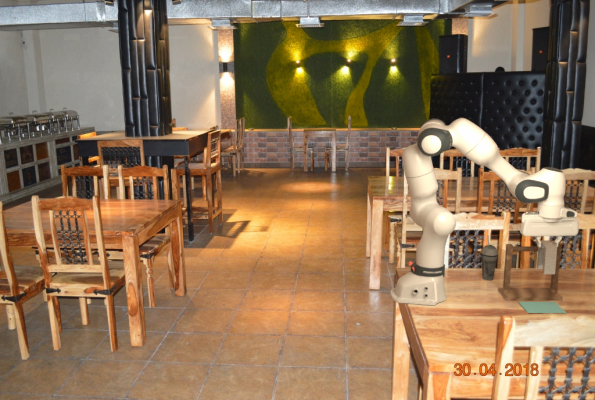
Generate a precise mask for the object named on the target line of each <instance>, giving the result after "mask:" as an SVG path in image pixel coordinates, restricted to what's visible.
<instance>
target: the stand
mask: <svg viewBox="0 0 595 400" xmlns="http://www.w3.org/2000/svg"><path fill="white" fill-rule="evenodd" d="M513 252H538V246H537V245H535V246H529V245H528V246H526V245H525V246H523V245H522V246H518V245H517V246H516V245H515V246H514V245H513V244H511V243H506V244H505V255H504V270H503V281H502V287H497V291H498V293H500V295H501V296H502V297H503V299H504V300H505V301H507V302H509V301H513V302H514V301H518V302H557V301H560V302H562V301H563V296H562V295H561V294H559V292H558V287H559V286H558V284H559V276H560V265H561V258H562V257H561V255H562V244H560V243H558V247H557V255H556V268H555V274H550V275H551V276H550V286H549V287H511V275H512V265H513V264H512V262H513Z"/></svg>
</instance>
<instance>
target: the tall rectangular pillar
mask: <svg viewBox="0 0 595 400" xmlns="http://www.w3.org/2000/svg"><path fill="white" fill-rule="evenodd" d="M540 242H542V243H543V247H538V251H537V260H536V268H537V270H541V271H542V275H551V274H555V268H556V255H557V246H556V245H555V244H554V243H552V242H553V241H551V240H540Z"/></svg>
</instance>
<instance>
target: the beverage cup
mask: <svg viewBox="0 0 595 400" xmlns="http://www.w3.org/2000/svg"><path fill="white" fill-rule="evenodd" d="M480 257H481V272H482V273H481V274H482V277H481V278H482V280H484V281H493V280H494V277H495V273H496V266H497V260H498V257H499V251H498V248H497V247H495V245H492V244H490V240H489V234H487V244H486V245H484V246H483V247H482V248H481V252H480Z"/></svg>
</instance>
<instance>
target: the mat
mask: <svg viewBox="0 0 595 400" xmlns="http://www.w3.org/2000/svg"><path fill="white" fill-rule="evenodd" d="M518 304H519V305H520V307H521V308H522V309H523V310H524V309H525V310H526V311H525V310H524V311H525V312H526V313H527V314H528V313H564V314H563V315H566V314H567V311H565V310H564V309H563V308H562V307H561V306H560V305H559V304H558V303H557V301H518Z"/></svg>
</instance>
